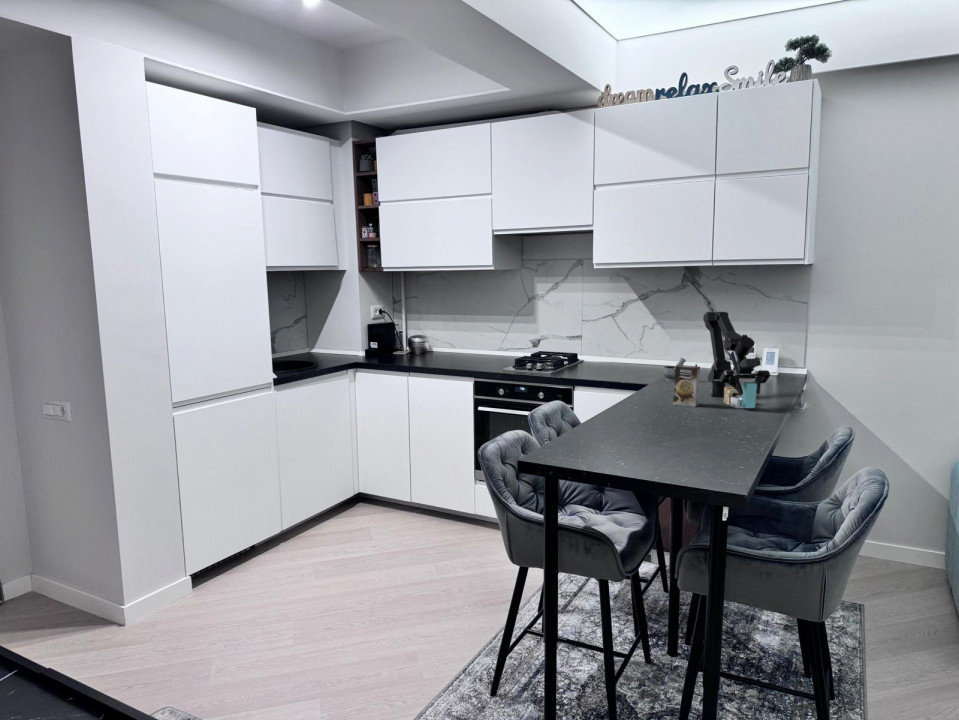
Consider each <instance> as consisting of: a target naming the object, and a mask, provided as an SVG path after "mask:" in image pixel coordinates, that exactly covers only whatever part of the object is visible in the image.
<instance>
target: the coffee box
mask: <svg viewBox="0 0 959 720" xmlns="http://www.w3.org/2000/svg"><path fill="white" fill-rule="evenodd" d="M676 365H677V364H676ZM676 365H675V382H673V383H674V384H673V385H674V386H673V399H672V400H673V401H672V404H673V405H676V406H684V407H693V408H694V407H697V406H698V404H699V403H698V401H699V388H700V387H699V385H700V371H701V367H700V366H696V365H685V364H683V365H677V366H676Z"/></svg>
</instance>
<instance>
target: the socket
mask: <svg viewBox="0 0 959 720" xmlns="http://www.w3.org/2000/svg"><path fill="white" fill-rule="evenodd" d="M735 393H736V394H739V395H741V394H740V393H739V392H738V391H737V390H736V389H735V388H733V387H732V386H726V387H725V389H724V397H723V403H724V404H726V405H729V406H731V397H732V395H733V394H735ZM741 396H742V395H741Z"/></svg>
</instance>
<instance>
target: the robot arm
mask: <svg viewBox="0 0 959 720" xmlns="http://www.w3.org/2000/svg"><path fill="white" fill-rule="evenodd" d="M702 320H703V322H704V326H705V328H706V329H707V330H708V331H709V334H710V335H709V336H710V340H711V341H710V342H711V348H712V355H713V363H712V365H711V367H710V371H709V374H708V376H707V382H709V383H711V392H710V393H709V395H710V396H711V397H714V398H715V397H716V398H717V397H719V398H721V397H722V398H724V389H725V387H727V385H729V386H730V387H733V388H735V389H736V390H737V391H738V392H739V393H740V394H741V395H742V394H743V390H742V384H741V383H740V380H753V382H754V383H756V384H757V388H756V395H760V391H761V384H766V383H767V382H768V380H769V379H770V377H771V372H770V371H769V370H765V369H764V370H763V369H759V370H758V371H757V372H756V373H753V372H754V371H755V368H757V367H759V366H760V365H761V359H760V357H754V358H747V356H748V355H749V354H750V353H751V351H752V350H753V348H754V346H755V345H756V344H755V340H753V338H751V337H749V336H748V334H742V335H741V334H739V333H738V332H737V331H736V330H735V328H734V326H733V323H732V322H731V319H730V317H729V312H728V311H706V312H705V313H704V314H703V319H702ZM723 337H724V341H723ZM725 351H726V352H730V356H729V359H728V360H730V361H731V362H732V363H731V362H730V361H728V360H727V359H726V355H725V354H726V353H725ZM732 366H733V367H732ZM726 384H727V385H726Z"/></svg>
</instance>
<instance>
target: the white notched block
mask: <svg viewBox="0 0 959 720" xmlns="http://www.w3.org/2000/svg"><path fill="white" fill-rule="evenodd" d="M730 406H731V407H734V408H735V409H745V408H744V407H742V406H741V404H740V400H739V399H737V398H735V397H731V405H730Z"/></svg>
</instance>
